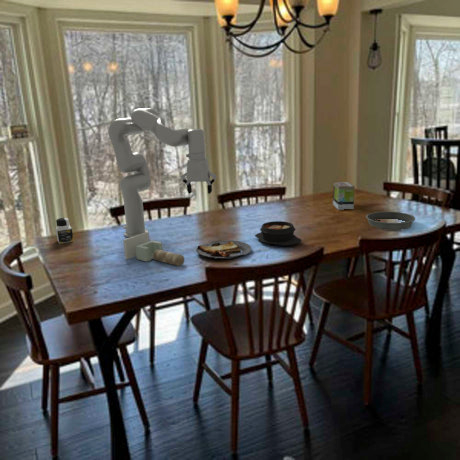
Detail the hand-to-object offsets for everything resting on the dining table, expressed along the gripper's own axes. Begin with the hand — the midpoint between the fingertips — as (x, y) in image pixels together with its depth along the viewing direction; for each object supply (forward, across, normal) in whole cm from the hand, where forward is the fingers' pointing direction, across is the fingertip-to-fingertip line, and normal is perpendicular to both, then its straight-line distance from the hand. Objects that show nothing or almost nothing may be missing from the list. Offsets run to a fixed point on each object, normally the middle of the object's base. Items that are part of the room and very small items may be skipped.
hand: (199, 193), depth 211 cm
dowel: (+26, -7, -26) cm, 37 cm away
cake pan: (+27, +90, +46) cm, 104 cm away
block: (+25, -18, -22) cm, 38 cm away
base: (+25, -26, -19) cm, 40 cm away
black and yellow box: (+25, -73, -4) cm, 78 cm away
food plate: (+26, +13, -10) cm, 31 cm away
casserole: (+26, +35, +9) cm, 45 cm away
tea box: (+26, +65, +83) cm, 109 cm away
